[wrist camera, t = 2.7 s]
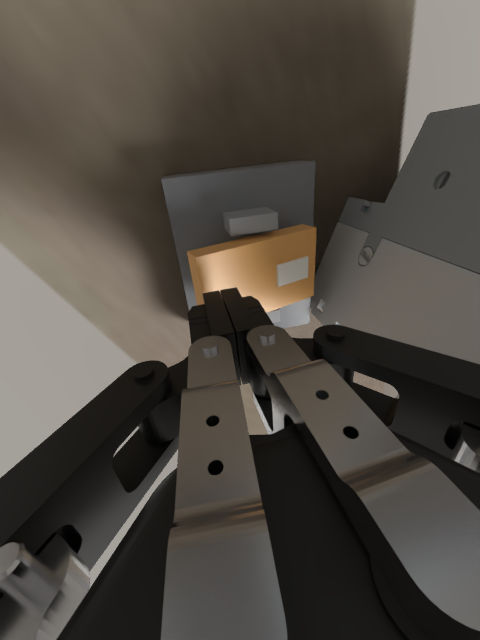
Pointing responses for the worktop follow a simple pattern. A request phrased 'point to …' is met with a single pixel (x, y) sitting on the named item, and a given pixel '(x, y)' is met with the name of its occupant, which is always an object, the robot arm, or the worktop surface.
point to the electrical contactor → (414, 247)
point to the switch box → (240, 214)
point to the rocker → (259, 266)
